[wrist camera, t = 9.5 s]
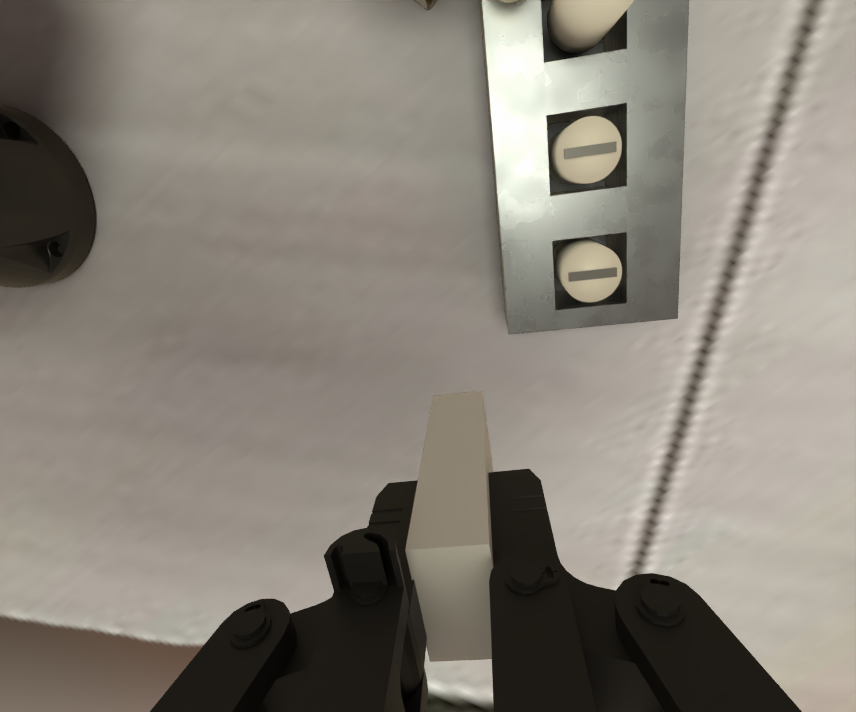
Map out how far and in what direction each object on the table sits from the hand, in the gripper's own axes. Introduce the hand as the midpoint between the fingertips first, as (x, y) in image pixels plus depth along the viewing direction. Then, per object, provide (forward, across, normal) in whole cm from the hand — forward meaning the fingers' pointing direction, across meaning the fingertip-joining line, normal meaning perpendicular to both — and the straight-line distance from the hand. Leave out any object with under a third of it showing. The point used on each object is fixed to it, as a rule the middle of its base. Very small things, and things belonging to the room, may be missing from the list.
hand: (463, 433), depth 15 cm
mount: (+28, +9, +8) cm, 30 cm away
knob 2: (+28, +9, +8) cm, 30 cm away
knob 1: (+24, +9, +16) cm, 30 cm away
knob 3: (+28, +9, 0) cm, 29 cm away
